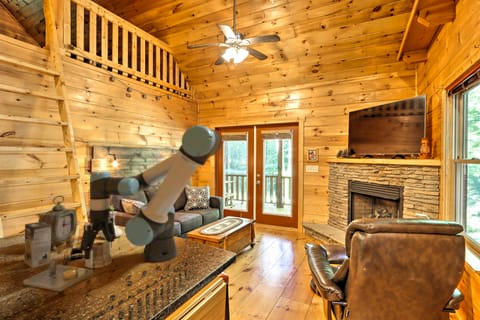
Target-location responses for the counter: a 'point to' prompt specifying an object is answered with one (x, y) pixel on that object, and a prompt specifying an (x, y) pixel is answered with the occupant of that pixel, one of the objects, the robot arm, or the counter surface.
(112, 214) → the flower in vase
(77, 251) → the black piece
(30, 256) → the coffee box
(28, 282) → the carrier
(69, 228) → the tabletop clock
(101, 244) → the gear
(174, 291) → the counter surface
